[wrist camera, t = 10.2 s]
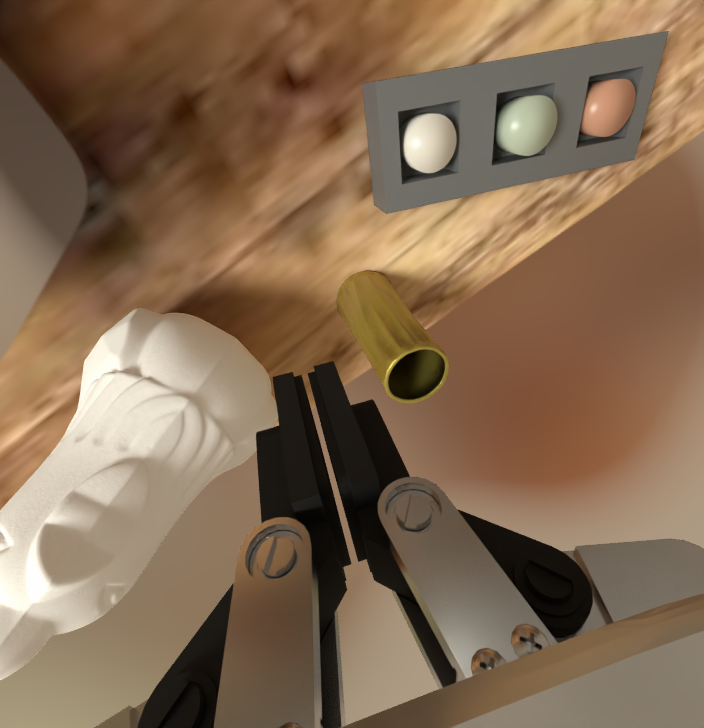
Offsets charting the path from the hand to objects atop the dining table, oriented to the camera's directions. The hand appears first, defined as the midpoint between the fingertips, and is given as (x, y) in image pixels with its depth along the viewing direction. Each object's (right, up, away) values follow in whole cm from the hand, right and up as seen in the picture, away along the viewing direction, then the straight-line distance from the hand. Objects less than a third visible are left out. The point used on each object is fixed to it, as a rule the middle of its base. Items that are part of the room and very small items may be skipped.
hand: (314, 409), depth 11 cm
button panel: (+14, +22, +23) cm, 35 cm away
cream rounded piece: (+7, +20, +21) cm, 29 cm away
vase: (+2, +8, +29) cm, 31 cm away
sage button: (+15, +21, +21) cm, 33 cm away
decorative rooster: (-20, -1, +29) cm, 35 cm away
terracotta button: (+22, +24, +23) cm, 40 cm away
